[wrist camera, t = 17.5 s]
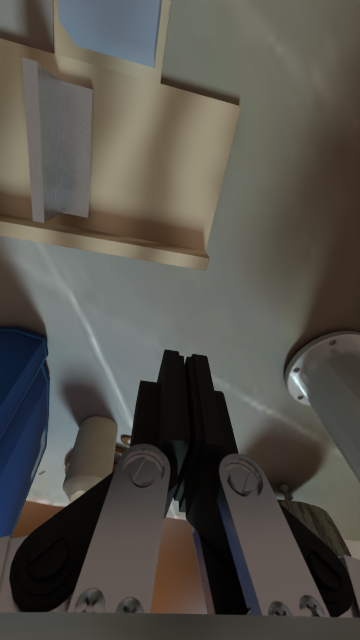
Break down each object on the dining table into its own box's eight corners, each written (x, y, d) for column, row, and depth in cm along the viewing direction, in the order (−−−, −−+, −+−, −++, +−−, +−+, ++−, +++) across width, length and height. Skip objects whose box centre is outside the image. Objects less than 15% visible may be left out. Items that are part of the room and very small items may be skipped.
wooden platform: (288, -89, 17) (347, -200, 12) (200, 266, 28) (210, 289, 23) (-168, -283, 13) (-389, -586, 8) (-56, 221, 24) (-114, 238, 19)
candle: (105, 410, 38) (90, 483, 30) (124, 432, 41) (116, 504, 32) (72, 423, 39) (48, 497, 30) (93, 443, 42) (77, 517, 33)
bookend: (93, 91, 20) (77, 72, 16) (89, 216, 24) (75, 228, 20) (51, 79, 20) (22, 57, 15) (54, 210, 24) (32, 220, 20)
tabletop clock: (234, 494, 53) (288, 722, 32) (261, 469, 49) (343, 708, 28) (290, 506, 57) (371, 713, 36) (319, 484, 53) (429, 700, 32)
